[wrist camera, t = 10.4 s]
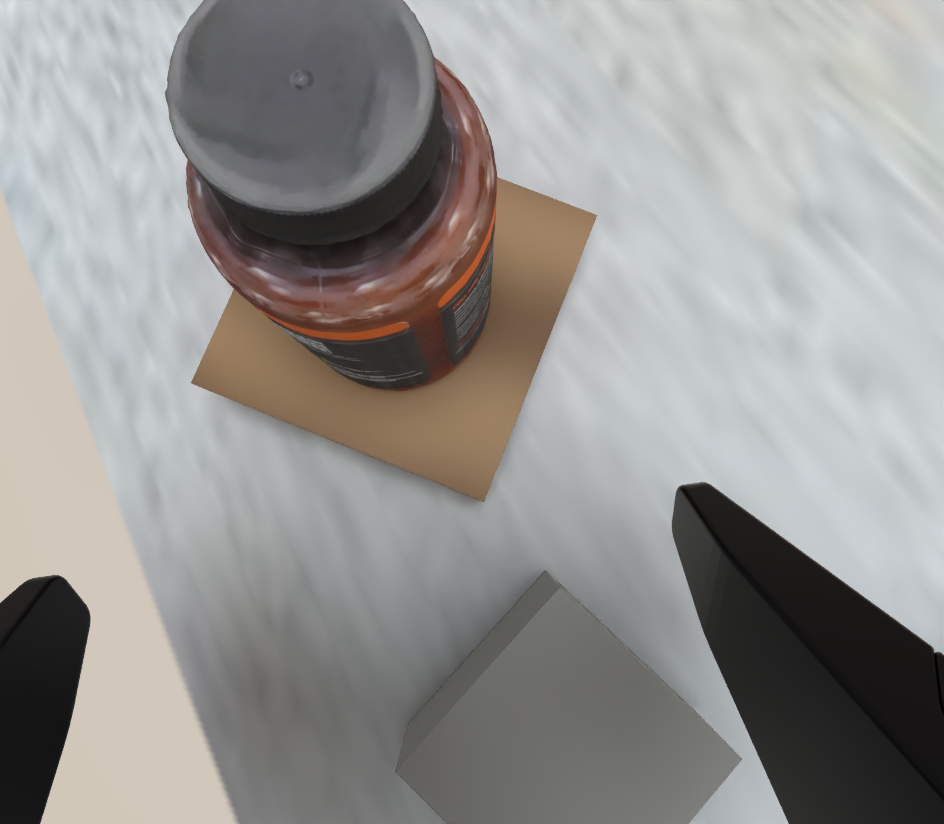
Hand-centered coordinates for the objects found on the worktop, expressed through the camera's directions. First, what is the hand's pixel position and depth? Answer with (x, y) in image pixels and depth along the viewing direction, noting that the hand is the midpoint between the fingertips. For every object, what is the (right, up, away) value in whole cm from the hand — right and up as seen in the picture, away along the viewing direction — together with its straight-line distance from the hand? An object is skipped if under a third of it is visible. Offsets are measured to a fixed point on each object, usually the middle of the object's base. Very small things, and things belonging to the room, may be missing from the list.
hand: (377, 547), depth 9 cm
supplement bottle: (-1, +5, +11) cm, 13 cm away
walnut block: (-1, +5, +14) cm, 15 cm away
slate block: (+4, -9, +13) cm, 16 cm away
